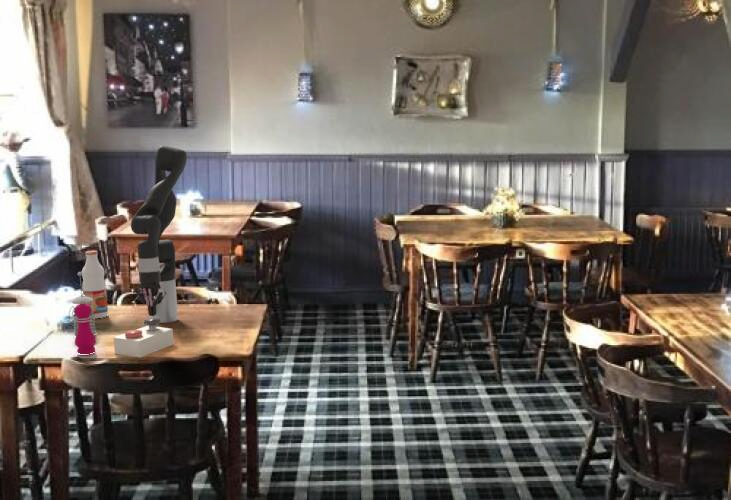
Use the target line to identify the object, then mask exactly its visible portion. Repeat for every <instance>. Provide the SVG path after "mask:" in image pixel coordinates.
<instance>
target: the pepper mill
mask: <svg viewBox="0 0 731 500" xmlns="http://www.w3.org/2000/svg"><path fill="white" fill-rule="evenodd" d="M84 303H85V301H84V300H80V304H76V305H75V306H74V308H75V309H74V308H73V309H74V311H73V315H74V314H75V315H76V316H77V317H76V319H77V320H76V321H77V322H78V323H77V324H78V326H77V328H78V333H77V335H76V338H75V340H74V344H75V346H76V347H77V351H76V353H77V352H78V353H80V354H90V353H93V352H95V353H96V348H95V344H96V343H97V339H96V336H94V334H93V332H92V331H91V328H90V320H91V319H90V318H91V317H90V314H91V311H92V310H91V307H90V306H89V305H88V304H84Z"/></svg>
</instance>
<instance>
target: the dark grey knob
mask: <svg viewBox="0 0 731 500" xmlns="http://www.w3.org/2000/svg"><path fill="white" fill-rule="evenodd" d="M159 324H162V323H161V320H160V318H153V317H148V318H144V319H143V325H144V326H149V331H152V332H154V331H157V327H158V325H159Z"/></svg>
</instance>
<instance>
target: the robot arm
mask: <svg viewBox="0 0 731 500" xmlns="http://www.w3.org/2000/svg"><path fill="white" fill-rule="evenodd" d="M187 158H188V157H187V152H186V151H185V150H183V149H181V148H175V147H171V146H168V145H160V146H159V147H158V148H157V150H156V155H155V163H154V165H155V166H154V185H153V187H151V188H150V190H149V192H148V193H147V196H146V198H145V200H144V203H142V205H141V206H140V208H139V209H138V210H137V212H135V214H134V215H133V217H132V219H131V222H130V228H131V229H130V230H131V231H132V232H133V233H134V234H135V235H143V236H145V235H147V239H146V240H143V241H142V240H141V241H139V242H138V243H137V255H138V256H137V257H138V260H137V261H138V262H137V265H138V266H137V267H138V276H139V277H138V279H139V281H138V282H139V283H140V287H139V289H137V290H135V293H136V294H137V296H138V297H139V300H140V301H141V303H142V304H143V305H146V307H147V314H148V316H149V317H152V318H160V320H161V323H160V324H167V323H173V322H177V321H178V320H179V315H178V302H177V301H178V300H177V299H178V298H177V287H176V250H175V244H174V242H173V241H172V240H171V239H161V237H162V235H163V233H164V232H165V230H166V229H167V228H168V227H169V225H170V224H172V222H173V219H174V218H175V216H176V209H177V197H176V195H175V193H174V191H173V188H174V187H175V185H176V184H177V182H178V180H179V178H180V177H181V175H182V173H183V172H184V170H185V168H186V167H185V166H186V164H187ZM166 172H168V173H169V172H170V173H169V174H168V175H167V173H166ZM160 264H163V265H162V266H161V265H160ZM160 266H161V267H160Z"/></svg>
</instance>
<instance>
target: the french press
mask: <svg viewBox="0 0 731 500" xmlns="http://www.w3.org/2000/svg"><path fill="white" fill-rule="evenodd" d="M82 275H83V274H82V271H78V272H77V276H79V281H80V283H79V285H82V280H81V276H82ZM80 293H81V295H80V296H77V297H75V298H73V299H72V300H71V303H72V304H75V305H78V304H80V300H84V301H85V303H89V302H92V301H93V299H92V298H90V297H86V296H83V288H80ZM75 305H72V306H71V307H70V309H69V312H68V319H69V322H70V323H71V325H73V331H74V333H73V334H74V335H75V336H76V335H77V333H78V322H77V321H76V320H77V319H76V318H77V316H76V315H75V314H74V309H75ZM72 308H73V309H72ZM71 310H72V312H71ZM91 310H92V309H91ZM70 314H71V316H70ZM70 317H71V318H70ZM90 317H91V318H90V319H91V320H90V328H91V331H92V332H93V334H96V333H98V331H96V324H95V321H96V320H95V319H94V313H92V311H91V314H90ZM71 319H72V321H71Z"/></svg>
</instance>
